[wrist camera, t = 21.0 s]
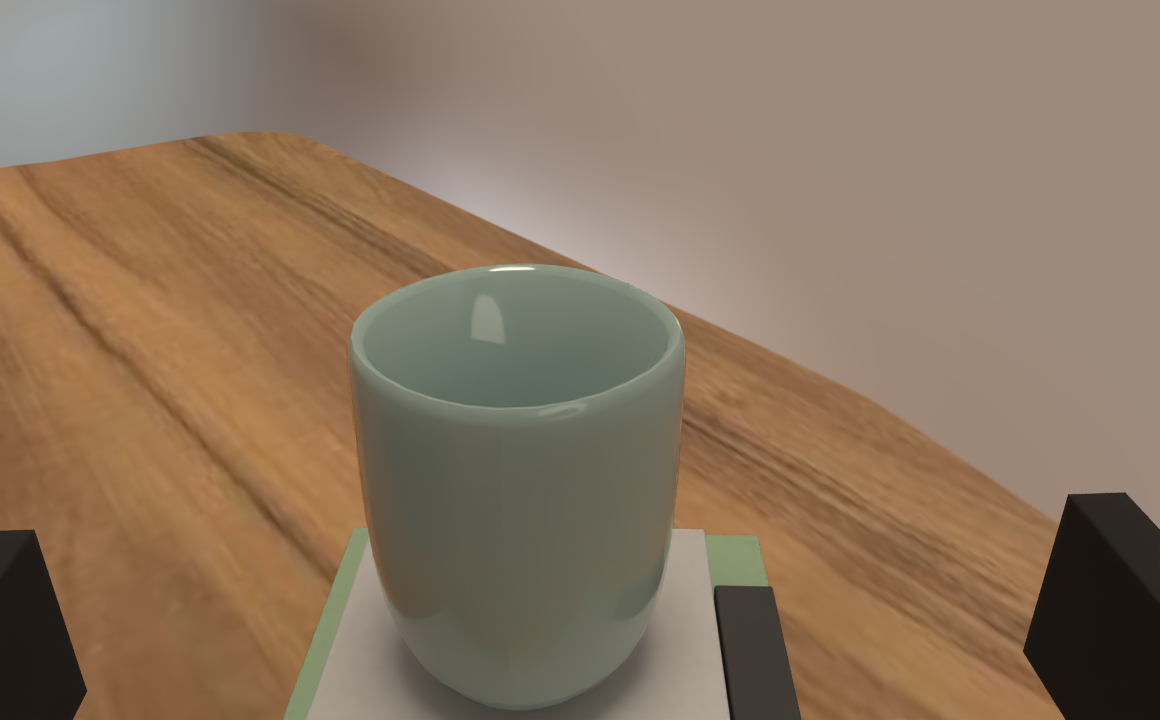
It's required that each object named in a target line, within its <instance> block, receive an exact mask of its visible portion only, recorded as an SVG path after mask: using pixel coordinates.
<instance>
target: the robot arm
mask: <svg viewBox="0 0 1160 720" xmlns="http://www.w3.org/2000/svg"><path fill="white" fill-rule="evenodd" d="M1023 652H1024V654H1025V656H1026V657H1027V659H1028V660H1029V662H1030V664H1031V665H1032V667H1033V668H1034V670H1035V672H1036V673H1037V675H1038V676H1039V678H1040V680H1041V681H1042V683H1043V684H1044V686H1045V688H1046V689H1047V691H1048V692H1049V694H1050V696H1051V697H1052V699H1053V700H1054V702H1055V704H1056V705H1057V707H1058V708H1059V710H1060V712H1061V713H1062V715H1063V716H1064V718H1065V720H1160V529H1159V528H1158V527H1157V526H1156V525H1155V524H1154V523H1153V522H1152V521H1151V520H1150V519H1149V517H1148V516H1147V515H1146V514H1145V513H1144V512H1143V511H1142V510H1141V509H1140V508H1139V507H1138V506H1137V505H1136V504H1135V502H1134V501H1133V500H1132V499H1131V498H1130V497H1129V496H1128V495H1127V494H1126V493H1097V494H1069V495H1068V497H1067V500H1066V504H1065V508H1064V511H1063V515H1062V518H1061V521H1060V525H1059V528H1058V532H1057V535H1056V538H1055V542H1054V545H1053V549H1052V552H1051V556H1050V559H1049V563H1048V566H1047V570H1046V573H1045V577H1044V580H1043V583H1042V587H1041V590H1040V594H1039V597H1038V601H1037V604H1036V608H1035V611H1034V615H1033V618H1032V622H1031V625H1030V628H1029V632H1028V635H1027V639H1026V642H1025V646H1024V649H1023ZM86 692H87V689H86V686H85V683H84V680H83V677H82V674H81V671H80V668H79V665H78V662H77V659H76V656H75V653H74V650H73V646H72V643H71V640H70V637H69V634H68V631H67V628H66V625H65V622H64V619H63V616H62V613H61V610H60V607H59V604H58V601H57V598H56V594H55V591H54V588H53V585H52V582H51V579H50V576H49V573H48V570H47V567H46V564H45V561H44V558H43V555H42V552H41V549H40V546H39V543H38V539H37V536H36V533H35V530H11V531H0V720H73V718H74V716H75V714H76V712H77V710H78V708H79V706H80V704H81V702H82V700H83V698H84V696H85V694H86Z"/></svg>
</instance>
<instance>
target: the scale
mask: <svg viewBox="0 0 1160 720" xmlns="http://www.w3.org/2000/svg"><path fill="white" fill-rule="evenodd" d="M282 720H801V716H800V711H799V707H798V702H797V698H796V693H795V688H794V684H793V679H792V675H791V670H790V666H789V661H788V656H787V652H786V647H785V643H784V638H783V634H782V629H781V625H780V620H779V615H778V611H777V606H776V602H775V597H774V593H773V589H772V587H770V586H768V581H767V576H766V572H765V567H764V562H763V558H762V553H761V548H760V544H759V539H758V537H757V536H742V535H705V533H704V530H702V529H673V530H672V538H671V546H670V552H669V557H668V563H667V569H666V574H665V578H664V582H663V586H662V590H661V594H660V597H659V600H658V603H657V605H656V608H655V611H654V614H653V616H652V618H651V620H650V622H649V625H648V627H647V629H646V631H645V633H644V635H643V637H642V638H641V640H640V642H639V644H638V646H637V647H636V648H635V649H634V651H633V652H632V653H631V654H630V656H629V657H628V658H627V659H626V661H625V662H624V663H623V664H622V665H621V666H620V667H619V668H618V669H617V670H616V671H615V672H614V673H613V674H612V675H610V676H609V677H608V678H607V679H606V680H605V681H603V682H602V683H601V684H599V685H597V686H596V687H594V688H593V689H591V690H589V691H588V692H586V693H584V694H583V695H580V696H578V697H576V698H573V699H571V700H569V701H566V702H564V703H561V704H559V705H556V706H552V707H548V708H543V709H539V710H531V711H508V710H500V709H493V708H490V707H487V706H484V705H481V704H478V703H475V702H471V701H469V700H467V699H465V698H463V697H461V696H459V695H457V694H455V693H453V692H451V691H450V690H448V689H447V688H446V687H444V686H443V685H442V684H441V683H439V682H438V681H437V680H436V679H434V678H433V677H432V676H431V675H430V674H429V673H428V672H427V671H426V670H425V669H424V668H423V667H422V666H421V665H420V664H419V663H418V661H417V660H416V659H415V658H414V657H413V656H412V654H411V653H410V651H409V650H408V648H407V646H406V645H405V643H404V641H403V640H402V638H401V636H400V634H399V632H398V630H397V628H396V627H395V625H394V623H393V620H392V618H391V615H390V613H389V611H388V608H387V606H386V603H385V600H384V597H383V593H382V590H381V587H380V583H379V580H378V575H377V571H376V567H375V562H374V558H373V553H372V548H371V543H370V538H369V533H368V528H359V527H355V528H353V531H352V534H351V536H350V539H349V542H348V544H347V547H346V550H345V553H344V555H343V558H342V561H341V563H340V566H339V569H338V571H337V574H336V577H335V579H334V582H333V585H332V587H331V590H330V593H329V595H328V598H327V601H326V604H325V606H324V609H323V612H322V614H321V617H320V620H319V622H318V625H317V628H316V630H315V633H314V636H313V638H312V641H311V644H310V646H309V649H308V652H307V655H306V657H305V660H304V663H303V665H302V668H301V671H300V673H299V676H298V679H297V681H296V684H295V687H294V689H293V692H292V695H291V697H290V700H289V703H288V705H287V708H286V711H285V714H284V716H283V719H282Z"/></svg>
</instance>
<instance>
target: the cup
mask: <svg viewBox="0 0 1160 720" xmlns="http://www.w3.org/2000/svg"><path fill="white" fill-rule="evenodd" d="M685 359H686V357H685V340H684V334H683V332H682V329H681V327H680V324H679V322H678V320H677V318H676V317H675V316H674V314H673V313H672V312H671V311H670V310H669V309H668V308H667V307H666V306H665V305H664V304H663V303H662V302H660V301H659V300H657V299H656V298H654V297H653V296H651V295H650V294H648V293H647V292H645V291H642V290H641V289H638V288H636V287H634V286H632V285H630V284H628V283H625V282H623V281H620V280H617V279H614V278H611V277H608V276H606V275H602V274H598V273H594V272H590V271H586V270H582V269H575V268H569V267H563V266H556V265H541V264H502V265H493V266H484V267H475V268H470V269H465V270H460V271H455V272H449V273H446V274H442V275H439V276H435V277H431V278H428V279H424V280H421V281H419V282H416V283H413V284H411V285H408V286H405V287H403V288H400V289H398V290H396V291H394V292H392V293H390V294H388V295H386V296H384V297H382V298H381V299H379V300H378V301H376V302H375V303H374V304H372V305H371V306H370V307H368V308H367V309H365V310H364V312H363V313H362V314H361V315H360V316H359V318H358V319H357V320H356V321H355V322H354V324H353V326H352V327H351V331H350V335H349V338H348V343H347V374H348V386H349V395H350V404H351V413H352V421H353V430H354V438H355V446H356V454H357V462H358V470H359V477H360V485H361V491H362V498H363V504H364V511H365V517H366V522H367V527H368V533H369V538H370V543H371V548H372V553H373V558H374V562H375V567H376V571H377V575H378V580H379V583H380V587H381V590H382V593H383V597H384V600H385V603H386V606H387V608H388V611H389V613H390V615H391V618H392V620H393V623H394V625H395V627H396V628H397V630H398V632H399V634H400V636H401V638H402V640H403V641H404V643H405V645H406V646H407V648H408V650H409V651H410V653H411V654H412V656H413V657H414V658H415V659H416V660H417V661H418V663H419V664H420V665H421V666H422V667H423V668H424V669H425V670H426V671H427V672H428V673H429V674H430V675H431V676H432V677H433V678H434V679H436V680H437V681H438V682H439V683H441V684H442V685H443V686H444V687H446V688H447V689H448V690H450V691H451V692H453V693H455V694H457V695H459V696H461V697H463V698H465V699H467V700H469V701H471V702H475V703H478V704H481V705H484V706H487V707H490V708H493V709H500V710H508V711H531V710H539V709H543V708H548V707H552V706H556V705H559V704H561V703H564V702H566V701H569V700H571V699H573V698H576V697H578V696H580V695H583V694H584V693H586V692H588V691H589V690H591V689H593V688H594V687H596V686H597V685H599V684H601V683H602V682H603V681H605V680H606V679H607V678H608V677H609V676H610V675H612V674H613V673H614V672H615V671H616V670H617V669H618V668H619V667H620V666H621V665H622V664H623V663H624V662H625V661H626V659H627V658H628V657H629V656H630V654H631V653H632V652H633V651H634V649H635V648H636V647H637V646H638V644H639V642H640V640H641V638H642V637H643V635H644V633H645V631H646V629H647V627H648V625H649V622H650V620H651V618H652V616H653V614H654V611H655V608H656V605H657V603H658V600H659V597H660V594H661V590H662V586H663V582H664V578H665V574H666V569H667V563H668V557H669V552H670V546H671V538H672V530H673V522H674V514H675V505H676V495H677V485H678V474H679V462H680V449H681V434H682V419H683V403H684V386H685Z"/></svg>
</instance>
